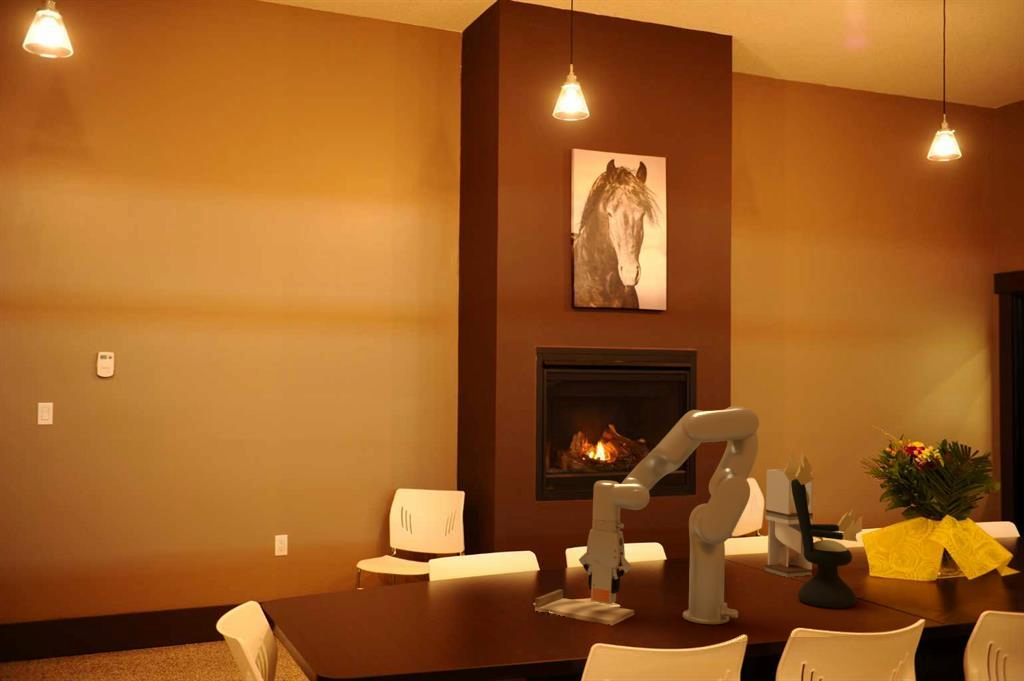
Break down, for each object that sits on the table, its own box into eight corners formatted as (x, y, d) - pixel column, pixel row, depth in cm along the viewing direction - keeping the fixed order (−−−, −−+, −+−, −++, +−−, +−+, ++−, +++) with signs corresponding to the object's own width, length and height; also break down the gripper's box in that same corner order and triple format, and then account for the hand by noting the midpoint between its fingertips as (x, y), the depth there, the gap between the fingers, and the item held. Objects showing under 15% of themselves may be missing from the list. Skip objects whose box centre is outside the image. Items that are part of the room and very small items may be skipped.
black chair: (863, 613, 279) (866, 456, 280) (784, 607, 283) (786, 453, 284) (854, 598, 297) (856, 451, 298) (779, 592, 302) (782, 448, 303)
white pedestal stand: (764, 570, 335) (766, 469, 336) (788, 568, 339) (790, 468, 340) (787, 577, 325) (789, 473, 326) (811, 575, 329) (813, 472, 330)
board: (634, 614, 270) (634, 601, 270) (612, 625, 258) (612, 611, 258) (559, 601, 282) (559, 589, 283) (534, 611, 271) (535, 598, 271)
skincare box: (590, 601, 267) (591, 558, 267) (596, 598, 270) (597, 555, 271) (610, 604, 264) (612, 560, 264) (616, 601, 268) (618, 558, 268)
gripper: (640, 527, 266) (638, 593, 266) (584, 520, 275) (582, 583, 275) (628, 531, 260) (626, 598, 259) (572, 523, 269) (569, 588, 269)
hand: (603, 590), depth 267 cm, fingers closed on skincare box, 6 cm apart
